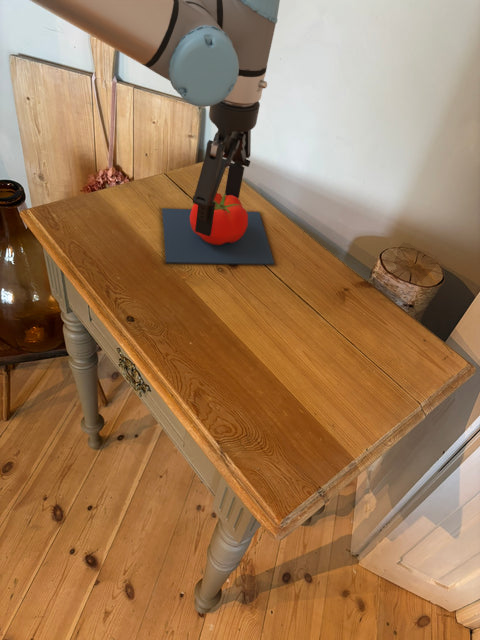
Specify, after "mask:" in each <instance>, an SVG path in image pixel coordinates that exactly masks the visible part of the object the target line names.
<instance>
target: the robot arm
mask: <svg viewBox="0 0 480 640" xmlns="http://www.w3.org/2000/svg"><path fill="white" fill-rule="evenodd" d="M29 1H30V2H32V3H34V4H35V5H37V6H39V7H41V8H42V9H44V10H46V11H47V12H50V13H51V14H53V15H54V16H56V17H58V18H60V19H62V20H64V21H65V22H67V23H69V24H70V25H72V26H74V27H76V28H77V29H79V30H81V31H83V32H85V33H86V34H88V35H90V36H92V37H93V38H95V39H96V40H98V41H100V42H102V43H104V44H105V45H106V46H109V47H111V48H113V49H114V50H115V51H117V52H119V53H121V54H123V55H125V56H127V57H128V58H129V59H132V60H133V61H135V62H137V63H139V65H142V66H144V67H145V68H147V69H149V70H150V71H152V72H153V73H156V75H159V76H160V77H162V78H164V79H166V80H167V81H169V82H170V84H171V87H172V88H173V90H175V91H176V93H177V94H178V95H180V97H181V98H182V99H183V100H184V101H186V103H189V104H190V105H193V106H196V107H209V110H208V111H209V112H208V117H209V120H210V121H211V123H212V124H213V125H215V127H216V128H217V132H215V134H214V137H213V140H211V139H209V140H208V141H207V143H206V149H205V155H204V159H203V161H202V162H203V163H202V165H201V170H200V174H199V176H198V181H197V184H196V187H195V191H194V195H192V204H193V205H194V204H197V205H198V211H197V219H196V228H195V231H196V232H199V233H201V234H204V235H207V236H210V235H211V230H212V223H213V217H214V210H215V202H214V199H215V196H216V194H217V193H218V191H219V188H220V186H221V182H222V181H223V177H224V174H225V171H226V169H227V168H228V171H227V177H226V185H225V190H224V194H225V193H226V194H225V196H226V195H233V196H235V197H237V198H238V199H239V198H240V194H241V188H242V183H243V178H244V173H245V167H246V168H249V167H250V165H251V160H249V158H250V157H251V154H252V153H251V149H252V147H251V144H252V143H251V142H252V130H253V129H254V128H255V127H256V125H257V122H258V117H259V111H260V107H261V104H260V102H259V101H260V100H261V99H262V94H263V90H265V89H267V87H268V82H267V81H265V78H266V74H267V69H268V63H269V57H270V53H271V48H272V44H273V40H274V39H273V38H274V34H275V29H276V25H277V23H278V16H279V9H280V1H281V0H29Z"/></svg>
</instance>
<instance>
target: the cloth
mask: <svg viewBox="0 0 480 640" xmlns="http://www.w3.org/2000/svg"><path fill="white" fill-rule="evenodd" d="M191 210H192V208H191V209H190V208H189V209H187V208H167V207H166V208H164V207H163V208H162V209H161V211H162V223H163V224H162V225H163V239H164V240H163V241H164V242H163V243H164V254H165V264H177V265H178V264H181V265H182V264H183V265H184V264H185V265H187V264H188V265H257V266H258V265H260V266H274V265H275V260H274V258H273V254H272V251H271V246H270V243H269V240H268V237H267V233H266V230H265V227H264V224H263V220H262V216H261V214H260V212H259V211H246V212H247V214H248V226H247V229H246V231H245V233H244V234H243V236H242V237H241V238H240V239H239V240H237V241H236V242H233V243H228V242H227V243H224V244H221V245H214V244H210V243H208V242H205V241H204V240H203V239H202V238H201V237H200V236H199V235H197V234H196V233H194V231H193V229H192V227H191V224H190V214H191Z"/></svg>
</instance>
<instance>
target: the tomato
mask: <svg viewBox="0 0 480 640" xmlns="http://www.w3.org/2000/svg"><path fill="white" fill-rule="evenodd" d="M225 194H226V193H225V192H224V194H223V195H222V194H221V193H218V192H217V194H216V196H215V199H214V202H215V210H214V217H213V223H212V230H211V235H210V236H207V235H204V234H201V233H199V232H196V231H195V228H196V219H197V211H198V205H197V204H194V203H193V205H192V207H191V209H192V210H191V214H190V224H191V227H192V229H193V231H194V233H196V234H197V235H199V236H200V237H201V238H202V239H203V240H204V241H205V242H208V243H210V244H214V245H221V244H224V243H227V242H228V243H233V242H236V241H237V240H239V239H240V238H241V237H242V236H243V234H244V233H245V231H246V229H247V226H248V214H247V212H248V211H247V210H246V209H245V208H244V207H243V205H242V203H241V200H240V199H239V198H237V197H235V196H233V195H225Z"/></svg>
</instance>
